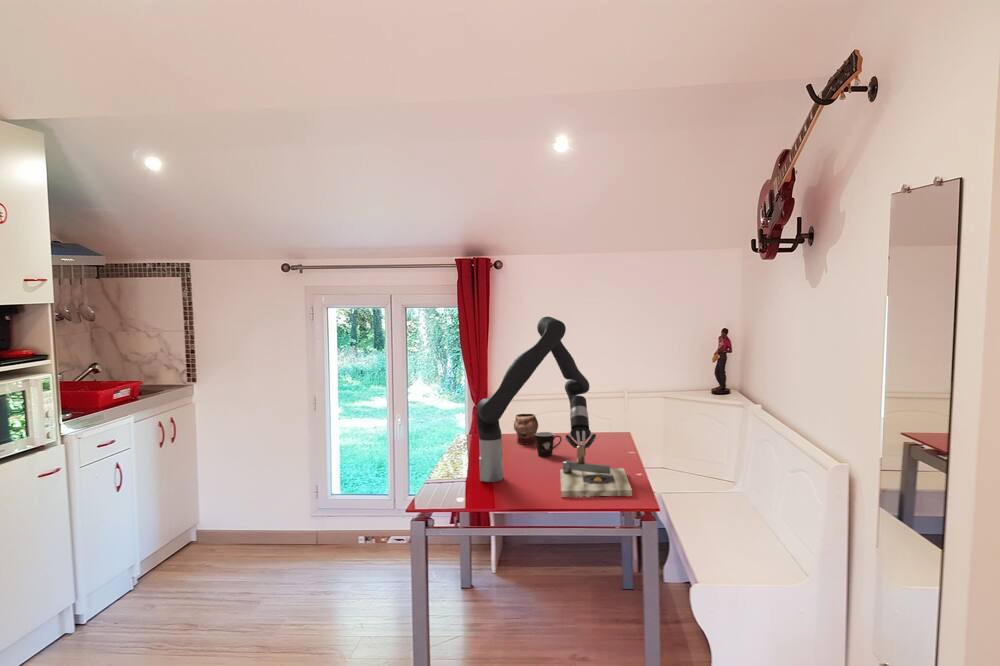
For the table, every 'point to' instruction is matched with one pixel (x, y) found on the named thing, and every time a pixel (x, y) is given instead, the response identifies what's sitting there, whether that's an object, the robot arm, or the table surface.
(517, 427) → the decorative planter
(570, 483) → the board
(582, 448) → the catapult lever
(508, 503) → the table surface
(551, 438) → the coffee mug
